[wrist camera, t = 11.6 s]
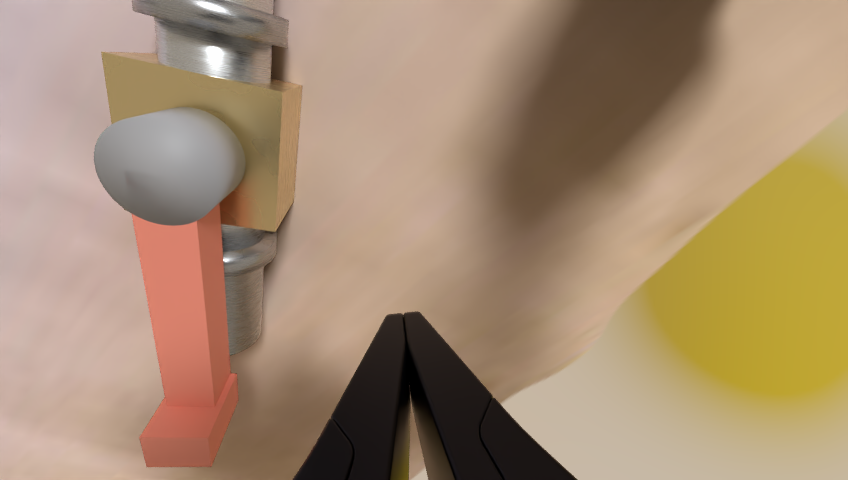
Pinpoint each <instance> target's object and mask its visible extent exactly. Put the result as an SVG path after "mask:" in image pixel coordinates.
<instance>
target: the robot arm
mask: <svg viewBox="0 0 848 480" xmlns="http://www.w3.org/2000/svg"><path fill="white" fill-rule="evenodd" d="M409 385H410V386H409ZM410 395H411V401H410ZM411 402H412V407H413V412H414V417H415V421H416V426H417V430H418V435H419V439H420V444H421V448H422V453H423V457H424V462H425V466H426V471H427V475H428V480H577V479H576V478H575V477H574V476H573V475H572V474H571V473H570V472H568V471H567V470H566V469H565V468H564V467H563V466H562V465H561V464H560V463H559V462H558V461H557V460H555V459H554V458H553V457H552V456H551V455H550V454H549V453H548V452H547V451H546V450H544V449H543V448H542V447H541V446H540V445H539V444H538V443H537V442H536V441H535V440H534V439H533V438H532V437H531V436H530V435H529V434H528V433H527V432H526V431H525V430H523V429H522V427H521V426H520V425H519V424H518V423H517V422H516V421H515V420H514V419H513V418H512V417H511V416H510V414H508V412H507V411H506V410H505V409H504V408H503V407H502V406H501V404H500V403H499V402H498V401H497V400H496V399H495V398H493V396H492V394H491V393H490V392H489V391H488V390H487V389H486V387H485V386H484V385H483V384H482V383H481V382H480V381H479V379H478V378H477V377H476V376H475V375H474V374H473V373H472V371H471V370H470V369H469V368H468V367H467V366H466V364H465V363H464V362H463V361H462V360H461V359H460V358H459V356H458V355H457V354H456V353H455V352H454V351H453V350H452V348H451V347H450V346H449V345H448V344H447V343H446V342H445V340H444V339H443V338H442V337H441V336H440V335H439V334H438V332H437V331H436V330H435V329H434V328H433V327H432V326H431V324H430V323H429V322H428V321H427V320H426V319H425V318H424V316H423V315H422V314H421V313H420V312H407V313H404V315H403V314H401V313H397V314H389V315H387V316H386V317H385V319H384V321H383V323H382V324H381V326H380V328H379V330H378V332H377V334H376V335H375V337H374V339H373V341H372V343H371V344H370V346H369V348H368V350H367V352H366V354H365V355H364V357H363V359H362V361H361V363H360V365H359V366H358V368H357V370H356V372H355V374H354V375H353V377H352V379H351V381H350V383H349V385H348V386H347V388H346V390H345V392H344V394H343V395H342V397H341V399H340V401H339V403H338V405H337V406H336V408H335V410H334V412H333V414H332V415H331V419H329V421H328V422H327V424H326V426H325V428H324V430H323V432H322V433H321V435H320V437H319V439H318V440H317V442H316V444H315V445H314V447H313V449H312V450H311V452H310V454H309V456H308V457H307V459H306V460H305V462H304V463H303V465H302V466H301V468H300V469H299V471H298V472H297V474H296V475H295V477H294V478H293V480H409V448H410V413H411Z"/></svg>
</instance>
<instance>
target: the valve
mask: <svg viewBox="0 0 848 480" xmlns="http://www.w3.org/2000/svg"><path fill="white" fill-rule="evenodd" d="M273 7H274V0H132V8H133V11H135V12H139V13H142V14H146V15H150V16H153V17H154V19H155V31H156V42H157V54H153V53H123V52H101V53H102V60H103V67H104V74H105V81H106V88H107V94H108V101H109V108H110V115H111V122H112V124H113V123H115V122H117V121H120V120H123V119H127V118H131V117H135V116H140V115H144V114H148V113H153V112H157V111H161V110H166V109H170V108H176V107H191V108H196V109H200V110H203V111H206V112H208V113H210V114H212V115H214V116H215V117H217V118H219V119H220V120H221V121H223V122H224V123H225V124H226V125H227V126H228V127H229V128H230V129H231V130H232V131H233V132H234V134H235V135H236V137H237V138H238V140H239V142H240V143H241V146H242V148H243V151H244V155H245V162H246V164H245V172H244V176H243V178H242V180H241V182H240V184H239V185H238V186H237V187H236V188H235V189H234V190H233V191H232V192H231V193H230V194H229V195H228V196H226V197H225V198H224V199H223V200H222V201H221V202H220V218H221V233H222V249H223V264H224V279H225V295H226V310H227V325H228V341H229V355H233V354H236V353H239V352H241V351H243V350H245V349H247V348H248V347H250V346H251V345H252V344H253V343H254V342H255V341H256V340H257V339H258V338H259V336H260V333H261V323H262V297H263V270H264V266H266V265H267V264H268V263H270V262H271V261H272V260H273V258H274V257H275V255H276V246H277V231H276V230H277V228H278V227H279V225H280V223H281V221H282V220H283V218H284V216H285V215H286V213H287V211H288V210H289V208H290V206H291V205H292V203H293V201H294V191H295V177H296V164H297V150H298V136H299V123H300V109H301V95H302V85H297V84H293V83H288V82H284V81H280V80H275V79H271V60H272V45H275V46H280V47H285V48H287V44H288V26H289V21H288V20H286V19H284V18H281V17H278V16H275V15H273ZM124 210H126V209H124Z"/></svg>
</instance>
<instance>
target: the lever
mask: <svg viewBox="0 0 848 480" xmlns="http://www.w3.org/2000/svg"><path fill="white" fill-rule="evenodd" d="M94 163H95V168H96V172H97V175H98V177H99V179H100V182H101V183H102V185H103V187H104V188H105V190H106V191H107V192H108V194H109V195H110V196H111V197H112V198H113V199H114V200H115V201H116V202H117V203H118V204H119V205H120V206H122V207H123V208H124V209H126V210H127V211H128V212H130V213H132V218H133V224H134V229H135V235H136V240H137V246H138V251H139V257H140V262H141V268H142V273H143V279H144V284H145V290H146V295H147V300H148V306H149V311H150V317H151V322H152V328H153V333H154V339H155V344H156V350H157V355H158V361H159V366H160V372H161V377H162V383H163V388H164V394H165V398H164V399H163V401H162V403H161V404H160V406H159V407H158V409H157V410H156V412H155V414H154V415H153V417H152V418H151V420H150V422H149V423H148V425H147V426H146V428H145V429H144V431H143V433H142V434H141V436H140V437H139V438H140V442H141V446H142V450H143V454H144V458H145V462H146V466H147V467H211V466H212V464H213V461H214V459H215V457H216V454H217V452H218V449H219V447H220V444H221V442H222V439H223V437H224V434H225V432H226V430H227V427H228V425H229V422H230V420H231V417H232V415H233V412H234V410H235V407H236V405H237V403H238V384H237V374H235V373H231V371H230V356H229V341H228V325H227V310H226V295H225V279H224V264H223V249H222V233H221V218H220V202H221V201H222V200H223V199H224V198H225V197H226V196H228V195H229V194H230V193H231V192H232V191H233V190H234V189H235V188H236V187H237V186H238V185H239V184H240V182H241V180H242V178H243V176H244V172H245V164H246V162H245V155H244V151H243V148H242V146H241V143H240V142H239V140H238V138H237V137H236V135H235V134H234V132H233V131H232V130H231V129H230V128H229V127H228V126H227V125H226V124H225V123H224V122H223V121H221V120H220V119H219V118H217V117H215V116H214V115H212V114H210V113H208V112H206V111H203V110H200V109H196V108H191V107H176V108H170V109H166V110H161V111H157V112H153V113H148V114H144V115H140V116H135V117H131V118H127V119H123V120H120V121H117V122H115V123H113V124H112V125H110V126H109V127H108V128H106V129H105V130H104V131H103V132H102V134H101V135H100V137H99V138H98V140H97V143H96V145H95V151H94Z"/></svg>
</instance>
